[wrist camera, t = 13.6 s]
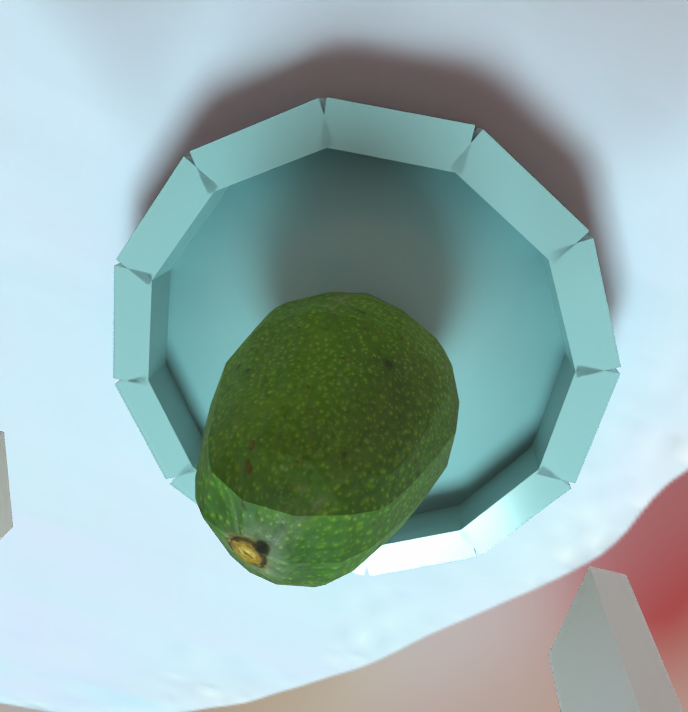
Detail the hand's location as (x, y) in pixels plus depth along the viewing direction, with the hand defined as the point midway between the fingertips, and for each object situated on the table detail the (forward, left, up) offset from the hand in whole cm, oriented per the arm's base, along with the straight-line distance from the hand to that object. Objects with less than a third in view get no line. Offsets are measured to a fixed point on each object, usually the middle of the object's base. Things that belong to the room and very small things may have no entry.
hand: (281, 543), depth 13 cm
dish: (0, 0, -12) cm, 12 cm away
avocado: (0, 0, -12) cm, 12 cm away
